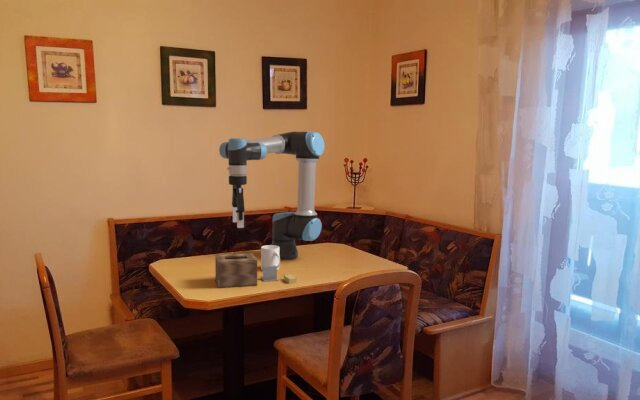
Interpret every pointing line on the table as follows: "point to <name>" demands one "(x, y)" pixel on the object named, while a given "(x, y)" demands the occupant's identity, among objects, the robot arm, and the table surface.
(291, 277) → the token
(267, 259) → the white rounded piece
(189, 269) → the table surface
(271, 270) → the stand
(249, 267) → the coin box
